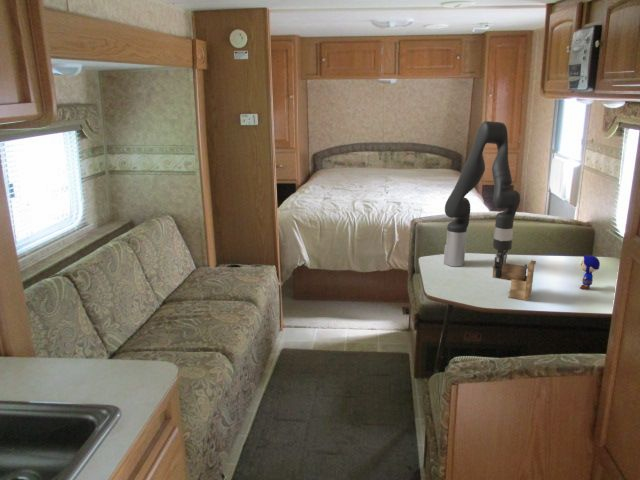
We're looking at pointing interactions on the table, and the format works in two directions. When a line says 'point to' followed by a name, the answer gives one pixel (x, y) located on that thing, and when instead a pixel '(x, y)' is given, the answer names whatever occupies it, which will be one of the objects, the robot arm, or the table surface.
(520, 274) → the light brown wooden block
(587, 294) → the table surface
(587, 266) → the toy
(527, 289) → the wooden chair
